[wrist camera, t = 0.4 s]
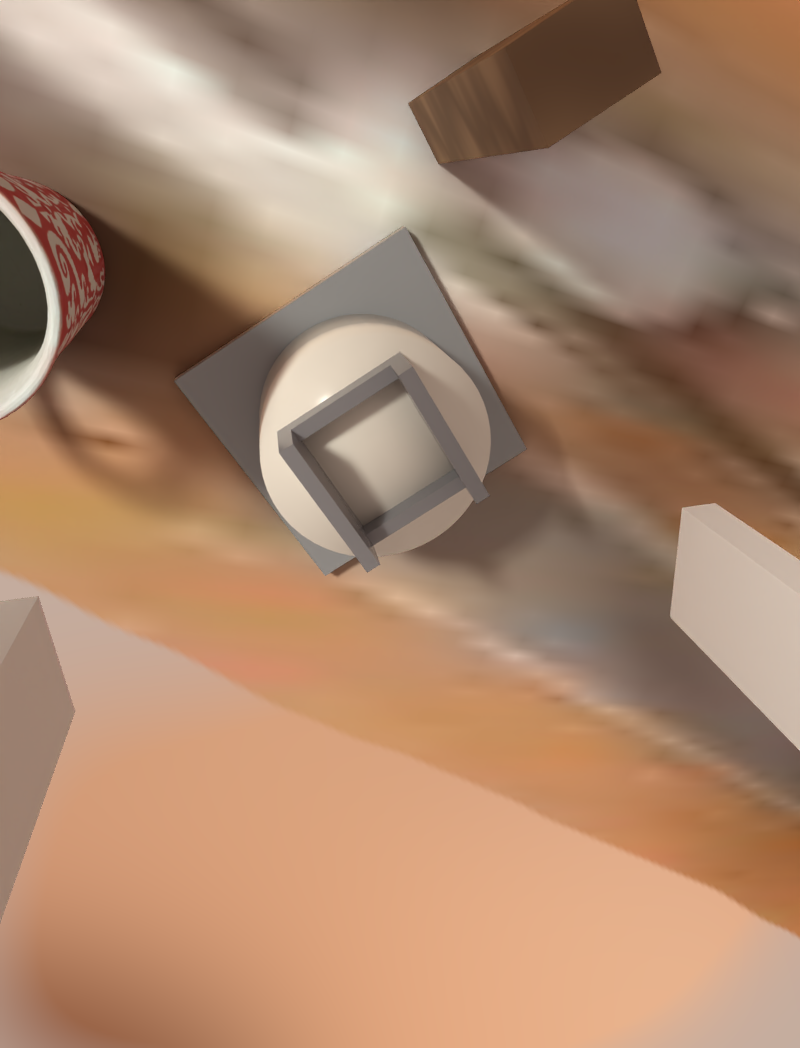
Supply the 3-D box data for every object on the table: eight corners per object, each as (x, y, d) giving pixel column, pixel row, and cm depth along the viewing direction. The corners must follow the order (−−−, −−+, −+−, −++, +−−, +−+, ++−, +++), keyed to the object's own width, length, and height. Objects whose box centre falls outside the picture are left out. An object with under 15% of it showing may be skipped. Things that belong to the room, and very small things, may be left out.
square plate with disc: (175, 377, 38) (151, 434, 29) (402, 226, 37) (448, 237, 28) (324, 569, 44) (341, 663, 35) (522, 444, 43) (590, 510, 34)
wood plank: (408, 103, 34) (505, 47, 21) (480, 54, 34) (624, -34, 21) (438, 163, 36) (547, 148, 22) (507, 117, 35) (661, 72, 22)
